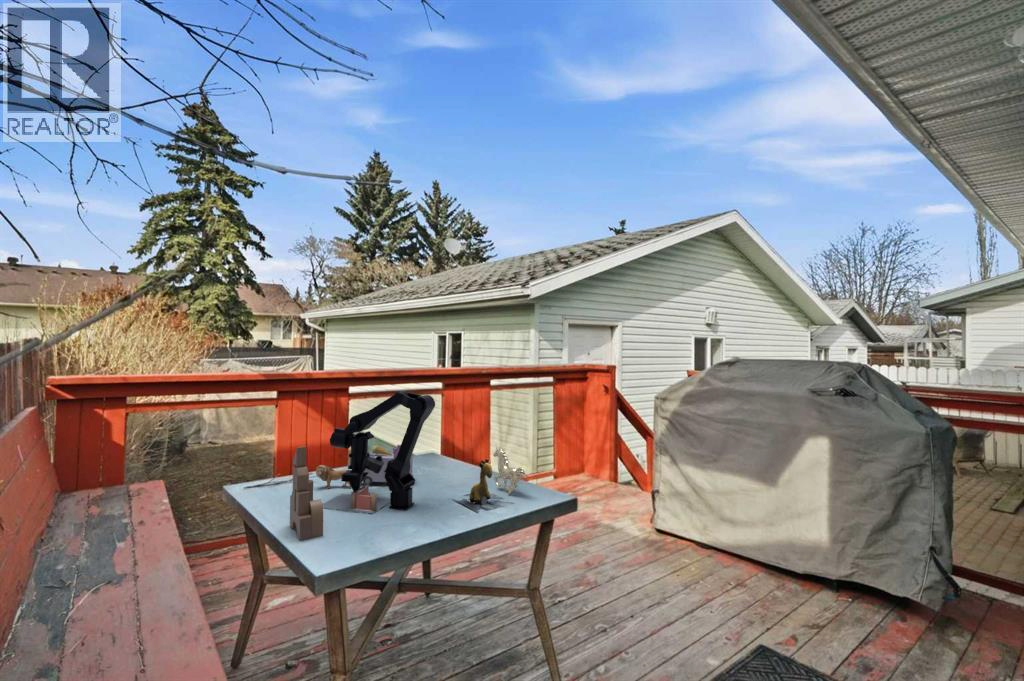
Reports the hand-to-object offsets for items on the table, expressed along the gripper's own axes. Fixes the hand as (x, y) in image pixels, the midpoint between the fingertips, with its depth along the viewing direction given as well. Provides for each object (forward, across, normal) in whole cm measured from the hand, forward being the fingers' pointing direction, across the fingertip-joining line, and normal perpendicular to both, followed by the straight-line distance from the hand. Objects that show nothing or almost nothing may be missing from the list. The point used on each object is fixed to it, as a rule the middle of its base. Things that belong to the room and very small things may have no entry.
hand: (356, 494), depth 172 cm
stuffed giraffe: (+1, 0, -44) cm, 44 cm away
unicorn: (0, +10, -54) cm, 55 cm away
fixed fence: (+2, -9, -5) cm, 11 cm away
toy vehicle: (+2, +21, -6) cm, 22 cm away
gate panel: (+1, -2, -2) cm, 3 cm away
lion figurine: (+3, +15, +12) cm, 20 cm away
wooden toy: (+3, -26, +8) cm, 27 cm away
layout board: (+2, -3, -1) cm, 4 cm away
